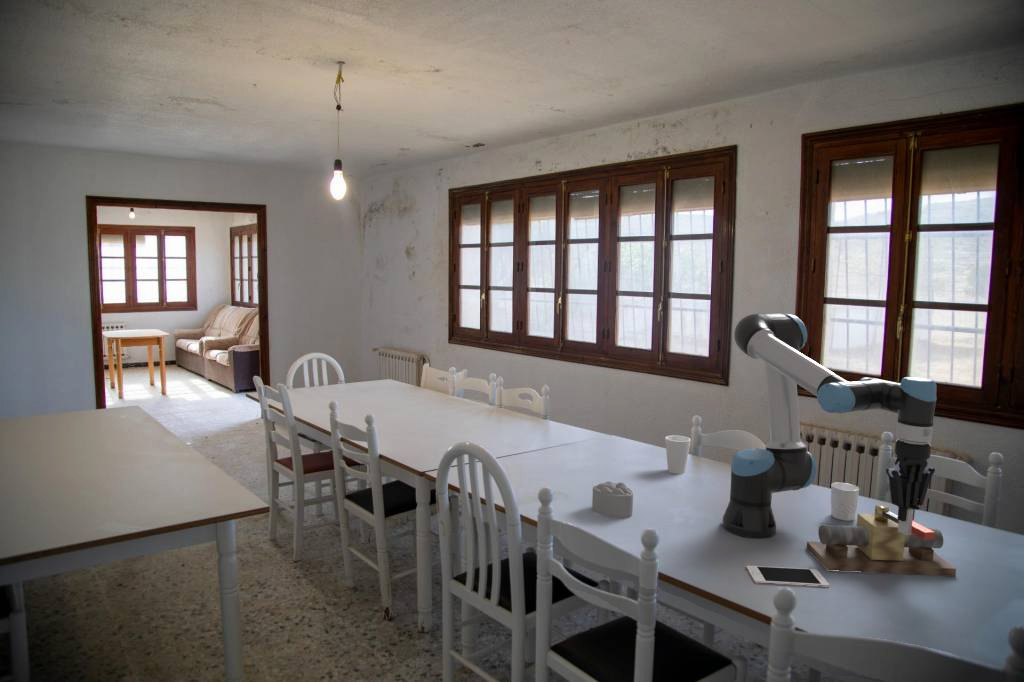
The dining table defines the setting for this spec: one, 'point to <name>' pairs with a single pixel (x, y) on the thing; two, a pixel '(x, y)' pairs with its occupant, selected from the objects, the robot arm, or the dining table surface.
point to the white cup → (844, 501)
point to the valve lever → (884, 514)
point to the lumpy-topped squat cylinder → (613, 500)
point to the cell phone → (787, 575)
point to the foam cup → (677, 453)
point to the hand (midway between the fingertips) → (904, 532)
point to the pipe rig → (878, 549)
